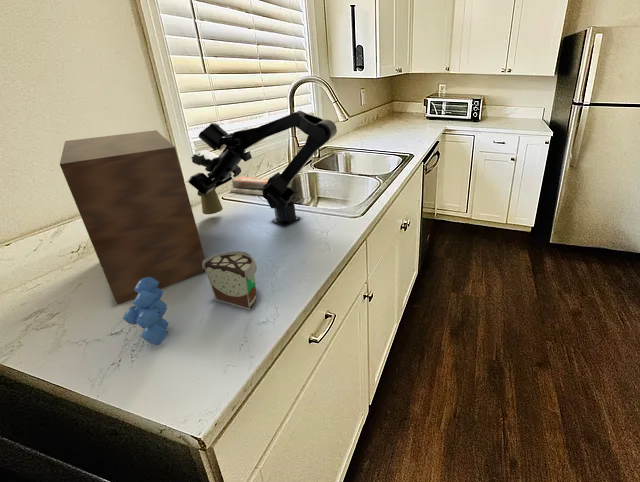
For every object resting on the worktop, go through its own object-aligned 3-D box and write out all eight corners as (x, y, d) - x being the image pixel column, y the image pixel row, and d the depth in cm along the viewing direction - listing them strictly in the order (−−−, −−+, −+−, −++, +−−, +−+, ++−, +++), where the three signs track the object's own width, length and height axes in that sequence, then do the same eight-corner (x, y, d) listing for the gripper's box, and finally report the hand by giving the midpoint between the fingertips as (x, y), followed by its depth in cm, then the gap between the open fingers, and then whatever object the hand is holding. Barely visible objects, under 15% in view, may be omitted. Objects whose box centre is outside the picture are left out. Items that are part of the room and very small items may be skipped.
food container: (275, 292, 74) (268, 255, 70) (255, 311, 68) (246, 271, 65) (232, 282, 78) (223, 245, 74) (210, 298, 72) (200, 260, 69)
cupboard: (185, 233, 100) (156, 130, 88) (208, 270, 82) (175, 146, 70) (110, 256, 89) (64, 141, 77) (117, 304, 71) (59, 164, 59)
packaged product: (227, 181, 130) (244, 173, 139) (229, 192, 131) (246, 184, 140) (266, 184, 125) (281, 176, 134) (268, 196, 127) (283, 187, 136)
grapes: (136, 323, 66) (117, 273, 61) (176, 310, 69) (160, 262, 64) (127, 366, 56) (104, 311, 52) (174, 349, 59) (155, 296, 55)
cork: (202, 215, 105) (193, 184, 101) (202, 209, 110) (194, 178, 106) (223, 211, 108) (215, 180, 104) (222, 205, 113) (215, 175, 109)
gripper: (225, 135, 109) (202, 166, 114) (185, 150, 92) (161, 185, 97) (252, 158, 111) (228, 188, 116) (218, 176, 94) (192, 210, 99)
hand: (204, 192), depth 107 cm, fingers closed on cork, 5 cm apart
